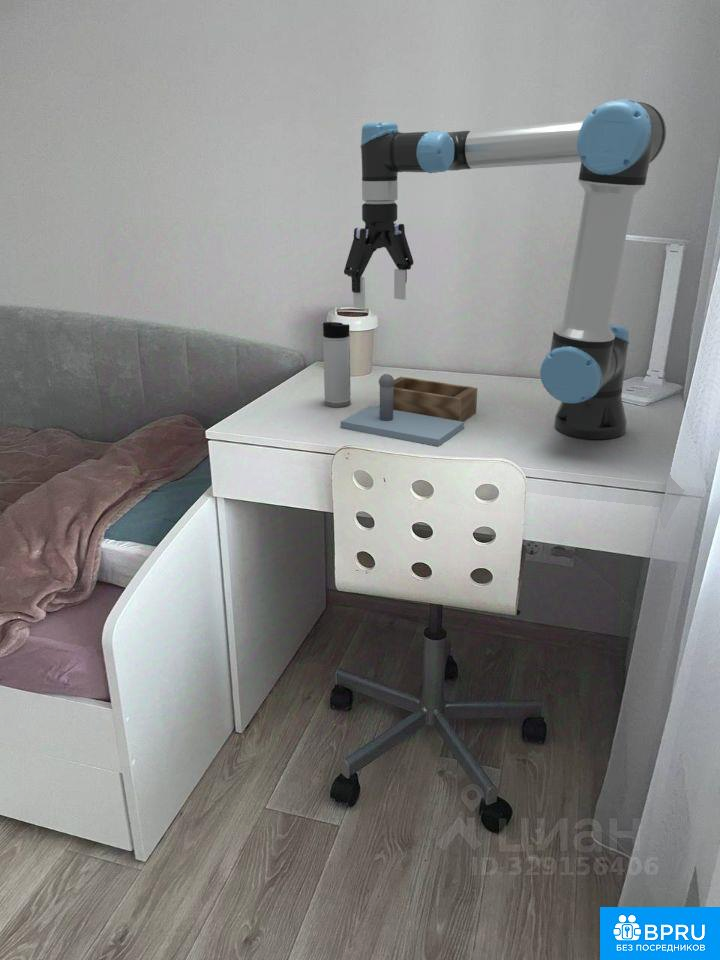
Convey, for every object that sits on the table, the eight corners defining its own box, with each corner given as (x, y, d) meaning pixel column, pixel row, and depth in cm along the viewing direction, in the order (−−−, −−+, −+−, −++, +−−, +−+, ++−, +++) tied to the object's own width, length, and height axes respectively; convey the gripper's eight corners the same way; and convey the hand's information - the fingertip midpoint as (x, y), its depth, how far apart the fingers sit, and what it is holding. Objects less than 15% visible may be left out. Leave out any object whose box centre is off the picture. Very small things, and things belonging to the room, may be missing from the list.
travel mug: (318, 404, 192) (316, 321, 184) (338, 398, 197) (336, 317, 189) (336, 409, 188) (334, 325, 180) (356, 403, 192) (355, 321, 185)
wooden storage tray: (476, 412, 185) (477, 387, 183) (458, 425, 177) (459, 399, 175) (400, 400, 195) (400, 376, 192) (380, 411, 187) (380, 386, 184)
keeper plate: (464, 428, 175) (466, 376, 171) (438, 446, 165) (440, 392, 160) (369, 411, 186) (369, 363, 182) (340, 427, 176) (339, 376, 172)
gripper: (403, 198, 179) (403, 293, 187) (325, 205, 162) (328, 309, 170) (430, 199, 174) (428, 297, 182) (352, 206, 157) (353, 313, 166)
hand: (380, 303), depth 176 cm, fingers open, 13 cm apart
